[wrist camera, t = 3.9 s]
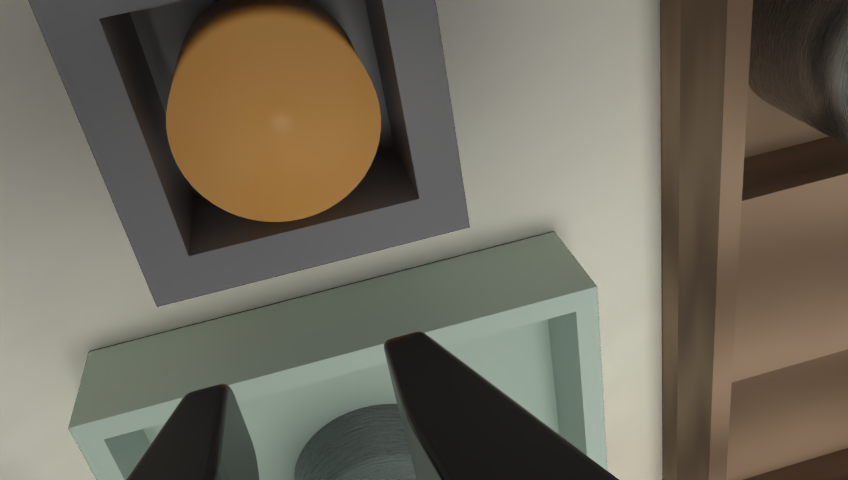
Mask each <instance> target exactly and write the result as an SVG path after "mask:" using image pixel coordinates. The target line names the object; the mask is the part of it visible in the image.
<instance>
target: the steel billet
mask: <svg viewBox="0 0 848 480" xmlns="http://www.w3.org/2000/svg"><path fill="white" fill-rule="evenodd" d="M294 480H417V478H416V474H415V470H414V466H413V463H412V459H411V455H410V451H409V448H408V444H407V440H406V436H405V433H404V429H403V425H402V421H401V417H400V414H399V410H398V406H397V404H380V405H372V406H368V407H363V408H359V409H356V410H353V411H350V412H348V413H346V414H344V415H341V416H339V417H337V418H336V419H334V420H332V421H330V422H329V423H328V424H326V425H325V426H323V427H322V428H321V429H320V430H319V431H317V432H316V433H315V434H314V435H313V436H312V437H311V439H310V440H309V441H308V442H307V443H306V445H305V446H304V448H303V449H302V451H301V453H300V455H299V457H298V460H297V463H296V467H295V474H294Z"/></svg>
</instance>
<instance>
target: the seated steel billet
mask: <svg viewBox="0 0 848 480" xmlns="http://www.w3.org/2000/svg"><path fill="white" fill-rule="evenodd" d="M748 85H749V86H750V88H751V89H752V90H753V92H754V93H755V94H756V95H757V96H758V97H759V98H761V99H762V100H764V101H765V102H766V103H768V104H770V105H772V106H773V107H775V108H777V109H779V110H781V111H783V112H785V113H787V114H788V115H790V116H792V117H794V118H796V119H798V120H800V121H801V122H803V123H805V124H807V125H809V126H811V127H813V128H815V129H816V130H818V131H820V132H822V133H824V134H826V135H828V136H830V137H831V138H833V139H835V140H837V141H839V142H841V143H843V144H844V145H846V146H848V0H753V10H752V28H751V46H750V64H749V82H748Z"/></svg>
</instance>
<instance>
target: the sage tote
mask: <svg viewBox="0 0 848 480" xmlns="http://www.w3.org/2000/svg"><path fill="white" fill-rule="evenodd" d="M418 331H420V332H424V333H425V334H427V335H428V336H429V337H431V338H432V339H433V340H435V341H436V342H437V343H439V344H440V345H441V346H443V347H444V348H445V349H446V350H448V351H449V352H450V353H452V354H453V355H454V356H456V357H457V358H458V359H460V360H461V361H462V362H464V363H465V364H466V365H468V366H469V367H470V368H472V369H473V370H474V371H476V372H477V373H478V374H480V375H481V376H482V377H484V378H485V379H486V380H488V381H489V382H490V383H491V384H493V385H494V386H495V387H497V388H498V389H499V390H501V391H502V392H503V393H505V394H506V395H507V396H509V397H510V398H511V399H513V400H514V401H515V402H517V403H518V404H519V405H521V406H522V407H523V408H525V409H526V410H527V411H529V412H530V413H531V414H533V415H534V416H535V417H536V418H538V419H539V420H540V421H542V422H543V423H544V424H546V425H547V426H548V427H550V428H551V429H552V430H554V431H555V432H556V433H558V434H559V435H560V436H562V437H563V438H564V439H566V440H567V441H568V442H570V443H571V444H572V445H574V446H575V447H576V448H578V449H579V450H580V451H581V452H583V453H584V454H585V455H587V456H588V457H589V458H591V459H592V460H593V461H595V462H596V463H597V464H599V465H600V466H601V467H603V468H604V469H605V470H607V471H608V469H607V452H606V434H605V417H604V399H603V382H602V364H601V347H600V329H599V312H598V294H597V286H596V284H595V283H594V282H593V281H592V279H591V278H590V277H589V275H588V274H587V273H586V272H585V270H584V269H583V268H582V266H581V265H580V264H579V263H578V261H577V260H576V259H575V257H574V256H573V255H572V254H571V252H570V251H569V250H568V248H567V247H566V246H565V245H564V243H563V242H562V241H561V239H560V238H559V237H558V236H557V234H556V233H555V232H551V233H547V234H543V235H539V236H536V237H532V238H528V239H524V240H520V241H516V242H512V243H509V244H505V245H501V246H497V247H493V248H489V249H485V250H481V251H478V252H474V253H470V254H466V255H462V256H458V257H454V258H450V259H447V260H443V261H439V262H435V263H431V264H427V265H423V266H420V267H416V268H412V269H408V270H404V271H400V272H396V273H392V274H389V275H385V276H381V277H377V278H373V279H369V280H365V281H361V282H358V283H354V284H350V285H346V286H342V287H338V288H334V289H331V290H327V291H323V292H319V293H315V294H311V295H307V296H303V297H300V298H296V299H292V300H288V301H284V302H280V303H276V304H272V305H269V306H265V307H261V308H257V309H253V310H249V311H245V312H242V313H238V314H234V315H230V316H226V317H222V318H218V319H214V320H211V321H207V322H203V323H199V324H195V325H191V326H187V327H184V328H180V329H176V330H172V331H168V332H164V333H160V334H156V335H153V336H149V337H145V338H141V339H137V340H133V341H129V342H125V343H122V344H118V345H114V346H110V347H106V348H102V349H98V350H95V351H91V352H89V353H88V357H87V361H86V364H85V368H84V372H83V375H82V379H81V383H80V387H79V390H78V394H77V398H76V401H75V405H74V409H73V413H72V416H71V420H70V424H69V427H68V429H69V430H70V432H71V434H72V436H73V438H74V439H75V441H76V443H77V445H78V447H79V449H80V450H81V452H82V454H83V456H84V458H85V460H86V461H87V463H88V465H89V467H90V469H91V471H92V472H93V474H94V476H95V478H96V480H126V479H127V477H128V476H129V474H130V473H131V472H132V470H133V469H134V467H135V466H136V464H137V463H138V462H139V460H140V459H141V457H142V456H143V454H144V453H145V451H146V450H147V449H148V447H149V446H150V444H151V443H152V441H153V440H154V439H155V437H156V436H157V434H158V433H159V431H160V430H161V428H162V427H163V426H164V424H165V423H166V421H167V420H168V418H169V417H170V416H171V414H172V413H173V411H174V410H175V408H176V407H177V405H178V404H179V403H180V401H181V400H182V398H183V397H184V396H185V395H186V394H187V393H189V392H192V391H195V390H199V389H203V388H206V387H210V386H214V385H218V384H223V383H224V384H227V385H228V386H229V387H230V388H231V389H232V391H233V393H234V395H235V398H236V400H237V403H238V406H239V408H240V411H241V414H242V416H243V419H244V421H245V424H246V427H247V429H248V432H249V434H250V437H251V440H252V443H253V446H254V450H255V454H256V459H257V465H258V472H259V480H294V474H295V467H296V463H297V460H298V457H299V455H300V453H301V451H302V449H303V448H304V446H305V445H306V443H307V442H308V441H309V440H310V439H311V437H312V436H313V435H314V434H315V433H316V432H317V431H319V430H320V429H321V428H322V427H323V426H325V425H326V424H328V423H329V422H330V421H332V420H334V419H336V418H337V417H339V416H341V415H344V414H346V413H348V412H350V411H353V410H356V409H359V408H363V407H368V406H372V405H380V404H397V402H396V397H395V393H394V389H393V385H392V381H391V377H390V372H389V368H388V364H387V360H386V356H385V351H384V343H385V342H386V340H388V339H391V338H394V337H398V336H402V335H406V334H409V333H413V332H418Z"/></svg>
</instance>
